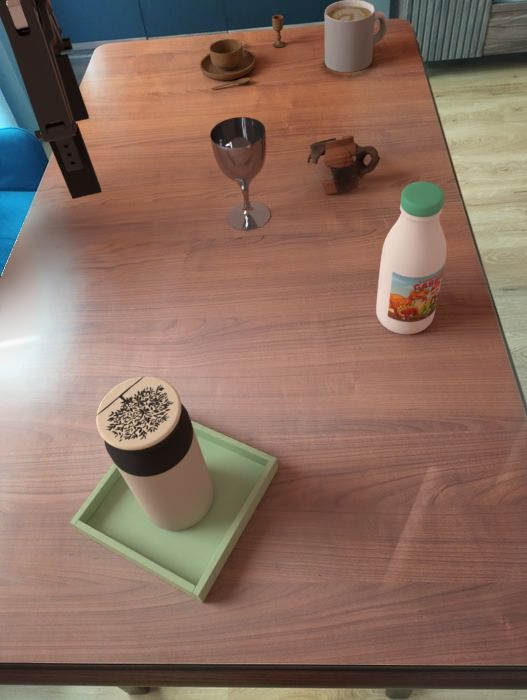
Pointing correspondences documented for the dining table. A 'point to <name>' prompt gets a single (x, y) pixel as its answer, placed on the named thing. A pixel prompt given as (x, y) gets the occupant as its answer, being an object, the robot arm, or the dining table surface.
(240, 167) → the wine glass
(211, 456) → the tray
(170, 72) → the dining table surface
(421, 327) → the milk bottle
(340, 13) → the coffee mug
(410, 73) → the dining table surface
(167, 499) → the travel mug
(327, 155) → the pottery mug
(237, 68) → the place setting
